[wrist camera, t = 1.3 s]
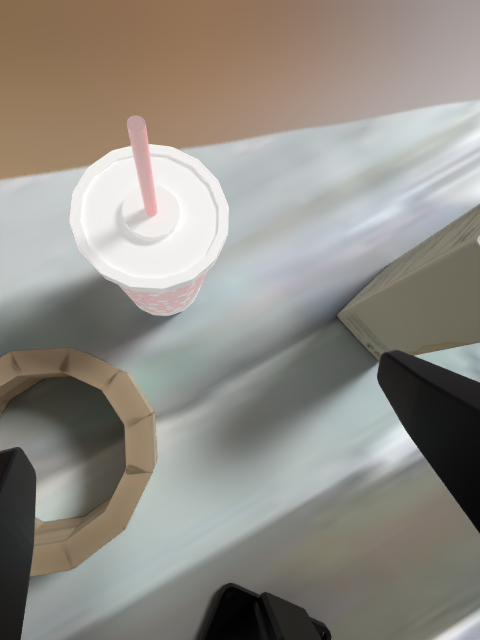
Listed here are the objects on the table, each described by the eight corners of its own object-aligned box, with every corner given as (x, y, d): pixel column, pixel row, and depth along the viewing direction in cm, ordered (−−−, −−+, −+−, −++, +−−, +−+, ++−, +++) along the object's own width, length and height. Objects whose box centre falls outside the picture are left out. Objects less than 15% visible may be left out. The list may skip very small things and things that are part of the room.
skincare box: (378, 364, 24) (563, 338, 13) (332, 313, 25) (471, 242, 13) (436, 303, 26) (650, 228, 14) (392, 256, 26) (567, 143, 14)
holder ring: (101, 575, 20) (84, 613, 16) (-76, 498, 19) (-132, 520, 16) (186, 400, 22) (186, 401, 19) (29, 326, 22) (0, 314, 18)
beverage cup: (106, 239, 23) (-1, 24, 10) (204, 229, 24) (230, 23, 11) (119, 335, 22) (18, 247, 9) (220, 320, 23) (271, 221, 10)
